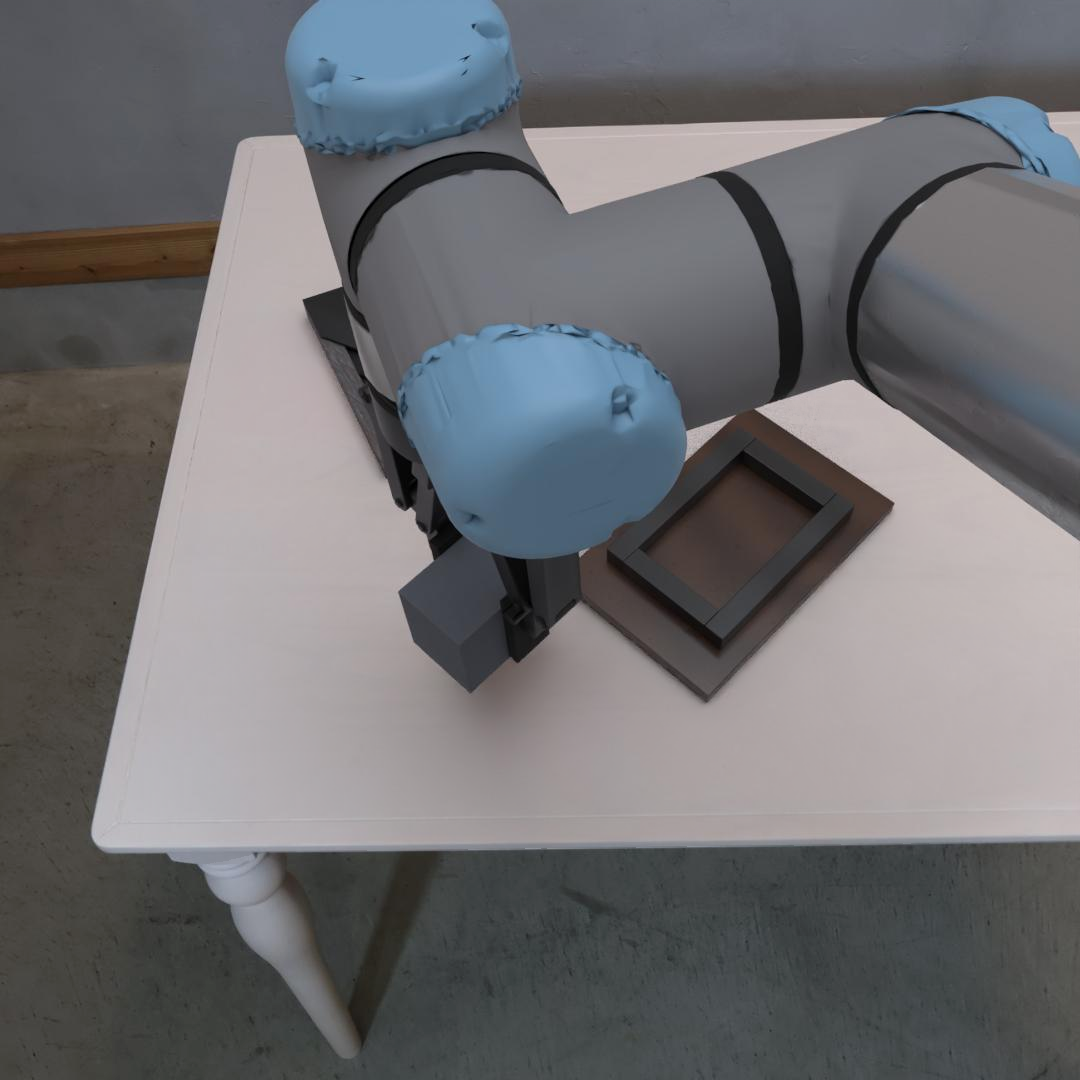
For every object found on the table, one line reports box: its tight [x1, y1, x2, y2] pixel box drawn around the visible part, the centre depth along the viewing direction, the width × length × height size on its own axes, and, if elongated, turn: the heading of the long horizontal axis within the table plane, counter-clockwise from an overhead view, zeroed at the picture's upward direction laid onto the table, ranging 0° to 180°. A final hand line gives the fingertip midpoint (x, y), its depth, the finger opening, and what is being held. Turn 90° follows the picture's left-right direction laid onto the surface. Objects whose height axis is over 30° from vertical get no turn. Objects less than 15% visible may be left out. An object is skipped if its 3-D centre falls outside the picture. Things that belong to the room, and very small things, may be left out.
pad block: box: [397, 536, 511, 694], centre depth 66 cm, size 9×5×6 cm, turn 136°
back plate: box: [579, 409, 895, 703], centre depth 77 cm, size 20×13×2 cm, turn 136°
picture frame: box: [301, 286, 388, 480], centre depth 87 cm, size 13×2×18 cm
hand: (495, 615), depth 68 cm, fingers closed on pad block, 5 cm apart
